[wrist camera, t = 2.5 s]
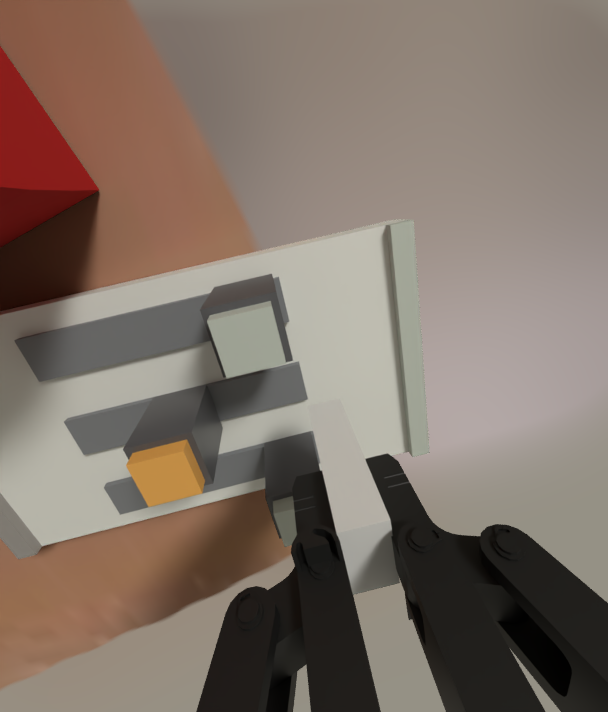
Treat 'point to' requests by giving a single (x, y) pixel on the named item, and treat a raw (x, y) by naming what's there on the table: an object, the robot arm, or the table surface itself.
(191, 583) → the table surface
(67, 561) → the table surface
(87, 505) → the white slider panel
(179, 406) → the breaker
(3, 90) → the red rectangular box
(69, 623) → the table surface
